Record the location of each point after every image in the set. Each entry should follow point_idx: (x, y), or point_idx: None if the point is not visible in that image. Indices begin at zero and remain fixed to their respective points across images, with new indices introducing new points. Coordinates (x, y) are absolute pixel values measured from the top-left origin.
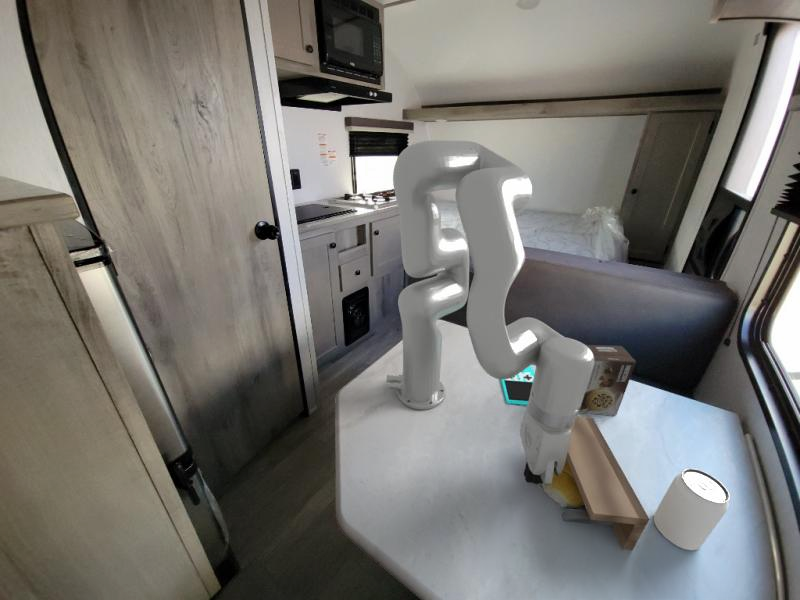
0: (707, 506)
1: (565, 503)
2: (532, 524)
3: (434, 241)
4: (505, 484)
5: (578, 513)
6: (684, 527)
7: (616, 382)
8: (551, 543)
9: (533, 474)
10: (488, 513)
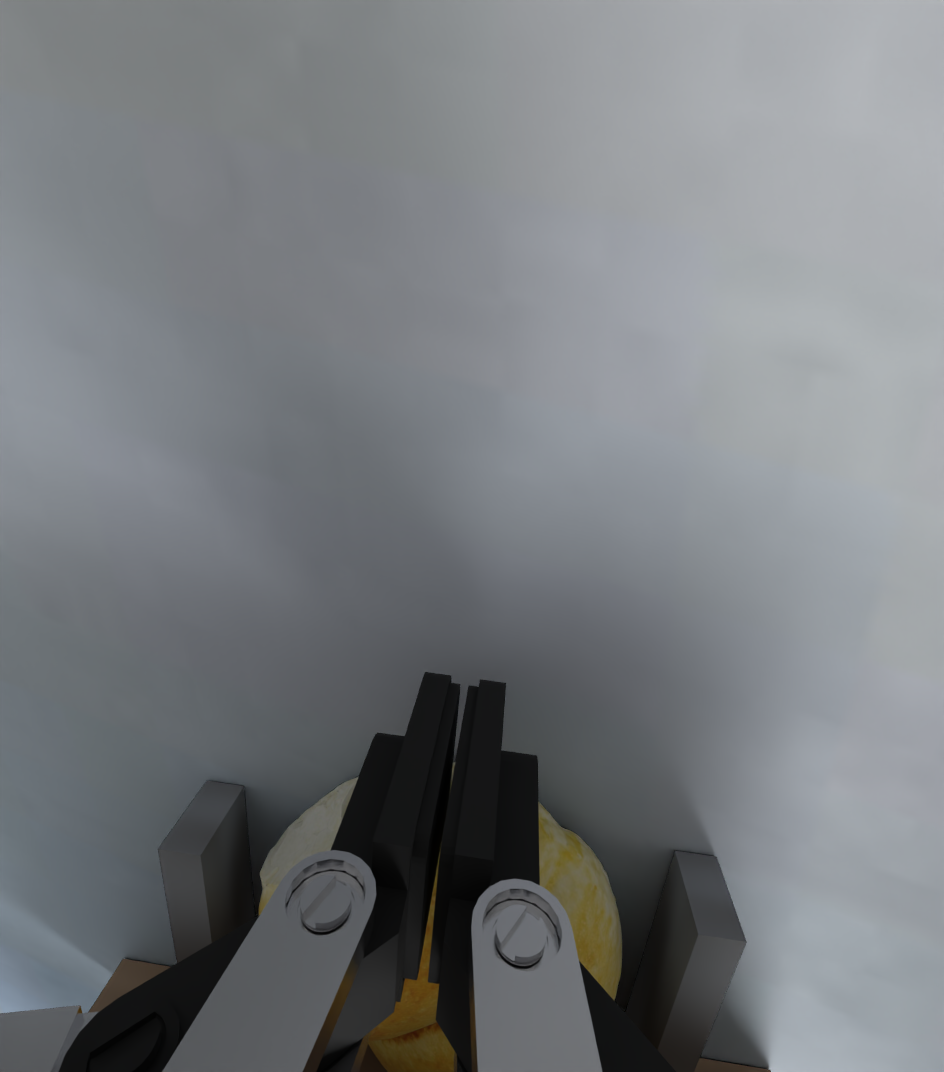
0: None
1: (268, 864)
2: (137, 584)
3: None
4: (451, 475)
5: (184, 914)
6: None
7: None
8: (44, 657)
9: (348, 826)
10: (138, 218)
